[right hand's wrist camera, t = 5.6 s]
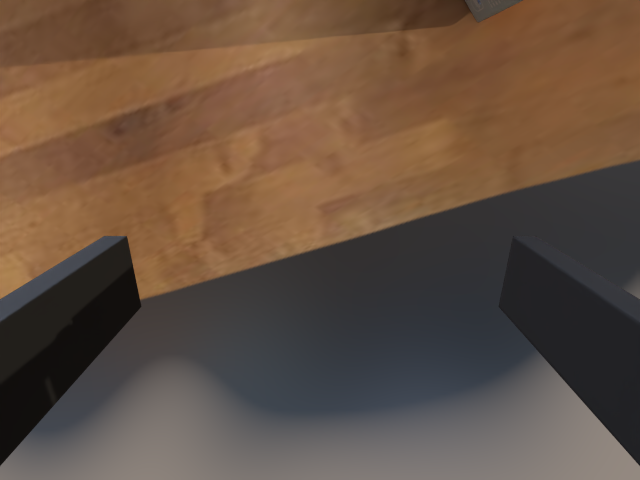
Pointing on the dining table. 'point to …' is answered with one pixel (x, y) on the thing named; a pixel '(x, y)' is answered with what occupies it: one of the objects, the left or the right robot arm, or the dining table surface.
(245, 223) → the dining table surface
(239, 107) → the dining table surface
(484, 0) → the hard drive box
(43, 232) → the dining table surface
